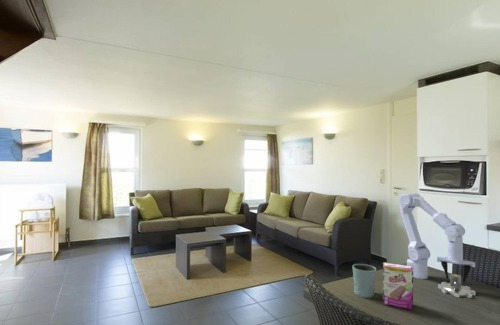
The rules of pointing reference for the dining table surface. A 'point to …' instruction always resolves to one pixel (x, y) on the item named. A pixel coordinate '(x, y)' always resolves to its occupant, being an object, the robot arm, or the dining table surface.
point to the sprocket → (456, 289)
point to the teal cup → (364, 280)
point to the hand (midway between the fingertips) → (455, 279)
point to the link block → (455, 279)
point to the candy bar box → (398, 285)
